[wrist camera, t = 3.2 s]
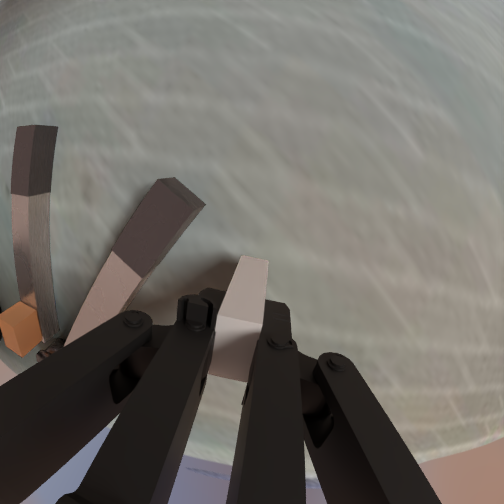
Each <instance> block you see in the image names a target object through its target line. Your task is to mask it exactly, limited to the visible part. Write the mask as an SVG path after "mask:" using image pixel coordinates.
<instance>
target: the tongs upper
mask: <svg viewBox="0 0 504 504" xmlns="http://www.w3.org/2000/svg"><path fill="white" fill-rule="evenodd" d="M205 205H206V204H205V203H204V202H203V201H201V200H200V199H199V198H198V197H197V196H196V195H195V194H193V193H192V192H191V191H190V190H189V189H188V188H186V187H185V186H184V185H183V184H182V183H181V182H179V181H178V180H177V179H176V178H175V177H173V178H163V179H157V181H156V182H155V183H154V185H153V186H152V188H151V189H150V190H149V192H148V193H147V195H146V196H145V198H144V199H143V201H142V202H141V203H140V205H139V206H138V208H137V209H136V211H135V213H134V214H133V216H132V217H131V219H130V220H129V222H128V223H127V225H126V226H125V228H124V230H123V231H122V233H121V235H120V236H119V238H118V239H117V241H116V243H115V244H114V246H113V248H112V249H111V250H112V252H111V254H110V255H109V257H108V259H107V261H106V262H105V264H104V266H103V268H102V269H101V271H100V273H99V275H98V277H97V279H96V280H95V282H94V284H93V286H92V288H91V290H90V292H89V294H88V296H87V298H86V300H85V302H84V304H83V306H82V308H81V310H80V312H79V314H78V316H77V318H76V320H75V322H74V324H73V327H72V329H71V331H70V333H69V335H68V338H67V340H66V342H65V345H64V346H66V345H68V344H69V343H71V342H73V341H74V340H76V339H77V338H79V337H81V336H82V335H84V334H86V333H87V332H89V331H91V330H92V329H94V328H96V327H97V326H99V325H101V324H102V323H104V322H106V321H107V320H109V319H111V318H112V317H114V316H116V315H117V314H119V313H122V312H124V311H125V310H126V309H127V307H128V306H129V304H130V303H131V301H132V300H133V299H134V297H135V296H136V294H137V293H138V291H139V290H140V289H141V287H142V286H143V284H144V283H145V282H146V280H147V279H148V277H149V276H150V275H151V273H152V272H153V271H154V269H155V268H156V267H157V266H158V265H159V264H160V262H161V261H162V260H163V258H164V257H165V256H166V254H167V253H168V252H169V251H170V249H171V248H172V247H173V245H174V244H175V243H176V241H177V240H178V239H179V238H180V236H181V235H182V234H183V232H184V231H185V230H186V229H187V227H188V226H189V225H190V224H191V222H192V221H193V220H194V219H195V217H196V216H197V215H198V214H199V212H200V211H201V210H202V209H203V207H204V206H205Z"/></svg>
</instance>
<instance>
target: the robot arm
mask: <svg viewBox="0 0 504 504" xmlns="http://www.w3.org/2000/svg"><path fill="white" fill-rule="evenodd" d="M268 262H269V261H267V260H263V259H258V258H253V257H249V256H244V255H241V258H240V260H239V262H238V265H237V267H236V270H235V272H234V275H233V277H232V280H231V282H230V285H229V287H228V290H227V292H225V291H220V290H216V289H212V288H206V289H204V290H203V291H201V292H200V294H199V295H186V296H182V297H181V298H180V299H178V308H177V320H176V322H175V324H174V325H170V326H160V325H152V321H153V320H152V319H151V317H150V316H149V315H147V314H146V313H143V312H140V311H135V310H130V311H124V312H122V313H119V314H117V315H116V316H114V317H112V318H111V319H109V320H107V321H106V322H104V323H102V324H101V325H99V326H97V327H96V328H94V329H92V330H91V331H89V332H87V333H86V334H84V335H82V336H81V337H79V338H77V339H76V340H74V341H73V342H71V343H69V344H68V345H66V346H64V347H63V348H61V349H59V350H58V351H56V352H54V353H53V354H51V355H50V356H48V357H46V358H45V359H43V360H41V361H40V362H38V363H37V364H35V365H33V366H32V367H30V368H28V369H27V370H25V371H24V372H22V373H20V374H19V375H17V376H16V377H14V378H12V379H11V380H9V381H8V382H6V383H5V384H3V385H1V386H0V504H20V503H21V502H22V501H23V500H25V499H26V498H27V497H28V496H30V495H31V494H32V493H33V492H34V491H35V490H37V489H38V488H39V487H40V486H41V485H42V484H43V483H44V482H46V481H47V480H48V479H49V478H50V477H51V476H52V475H54V473H56V472H57V471H58V470H59V469H60V468H61V467H62V466H63V465H65V464H66V463H67V462H68V461H69V460H70V459H71V458H72V457H73V456H75V455H76V454H77V453H78V452H79V451H80V450H81V449H82V448H83V447H84V446H85V445H86V444H88V442H90V441H91V440H92V439H93V438H94V437H95V436H96V435H97V434H98V433H99V432H100V431H101V430H103V429H104V428H105V427H106V426H107V425H108V424H109V423H110V422H111V421H112V420H113V419H114V418H115V417H116V416H117V415H118V414H119V413H120V415H119V416H118V418H117V420H116V421H115V423H114V425H113V427H112V428H111V430H110V432H109V434H108V435H107V437H106V439H105V441H104V443H103V444H102V446H101V448H100V450H99V451H98V453H97V455H96V457H95V459H94V460H93V462H92V464H91V466H90V468H89V469H88V471H87V473H86V475H85V477H84V479H83V480H82V482H81V484H80V486H79V487H78V489H77V490H76V491H75V492H73V493H69V494H65V495H63V496H62V497H61V498H59V499H58V501H57V502H56V504H168V501H169V497H170V495H171V491H172V488H173V485H174V482H175V479H176V476H177V472H178V469H179V466H180V463H181V460H182V457H183V454H184V450H185V447H186V444H187V441H188V438H189V435H190V432H191V428H192V425H193V422H194V419H195V416H196V413H197V410H198V407H199V404H200V400H201V397H202V394H203V391H204V388H205V385H206V380H207V373H208V370H209V373H208V374H211V375H215V376H219V377H224V378H228V379H233V380H238V381H242V382H248V383H247V386H246V390H245V393H244V397H243V401H242V404H241V405H243V407H242V413H241V419H240V425H239V431H238V437H237V443H236V449H235V455H234V461H233V467H232V472H231V478H230V484H229V490H228V495H227V501H226V504H306V483H305V455H304V441H305V444H306V446H307V449H308V452H309V455H310V458H311V460H312V463H313V466H314V469H315V471H316V474H317V477H318V480H319V482H320V485H321V488H322V491H323V493H324V496H325V499H326V501H327V504H442V503H441V502H440V500H439V498H438V497H437V495H436V493H435V492H434V490H433V488H432V487H431V485H430V483H429V482H428V480H427V478H426V477H425V475H424V473H423V472H422V470H421V468H420V467H419V465H418V464H417V462H416V460H415V459H414V457H413V455H412V454H411V452H410V451H409V449H408V447H407V446H406V444H405V443H404V441H403V439H402V438H401V436H400V435H399V433H398V432H397V430H396V428H395V427H394V425H393V424H392V422H391V421H390V419H389V417H388V416H387V414H386V413H385V411H384V410H383V408H382V407H381V405H380V403H379V402H378V400H377V399H376V397H375V396H374V394H373V393H372V391H371V390H370V388H369V387H368V385H367V383H366V382H365V380H364V379H363V377H362V376H361V374H360V373H359V371H358V370H357V368H356V367H355V365H354V364H353V363H352V362H351V360H350V359H348V358H347V357H345V356H343V355H341V354H338V353H332V352H328V353H323V354H322V355H320V356H319V358H318V360H317V359H314V358H311V357H308V356H306V355H304V354H302V353H301V352H299V351H298V348H297V344H296V342H295V341H294V340H293V339H292V333H291V322H290V321H291V320H290V309H289V308H288V307H287V305H286V304H285V303H281V302H276V301H271V300H266V299H265V295H266V284H267V273H268Z"/></svg>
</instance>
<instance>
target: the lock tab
mask: <svg viewBox="0 0 504 504" xmlns="http://www.w3.org/2000/svg"><path fill="white" fill-rule="evenodd" d="M0 328H1V331H2V335H3V338H4V341H5V344H6V346H7V347H8V348H10V349H11V350H12V351H14V352H15V353H17V354H18V355H19V356H21V357H22V358H23V357H24V356H25V355H26V354H27V353H28V352H29V351H30V350H32V349H33V348H34V347H35V346H36V345H37V344H38V343H39V342H41V341H42V340H43V339H42V334H41V330H40V326H39V321H38V316H37V311H36V310H35V309H33V308H31V307H29V306H28V305H26V304H24V303H22V302H20V301H19V302H18V303H16V304H14V305H13V306H11V307H10V308H8V309H7V310H5V311H4V312H3V313H1V314H0Z"/></svg>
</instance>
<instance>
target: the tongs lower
mask: <svg viewBox="0 0 504 504" xmlns="http://www.w3.org/2000/svg"><path fill="white" fill-rule="evenodd" d="M57 130H58V127H56V126H44V125H29V126H20V127H17V131H16V138H15V145H14V154H13V164H12V177H11V194H12V233H13V247H14V258H15V267H16V275H17V282H18V288H19V294H20V299H21V302H22V303H24V304H26V305H28V306H29V307H31V308H33V309H35V310H36V311H37V316H38V321H39V326H40V330H41V334H42V339H43V340H42V342H44V343H46V342H47V341H48V340H49V339H50V338H51V337H52V336H54V335H55V334H56V333H57V332H58V331H59V330H60V329H59V324H58V318H57V312H56V306H55V299H54V291H53V283H52V272H51V259H50V237H49V208H50V192H51V178H52V167H53V158H54V150H55V143H56V136H57ZM65 342H66V341H65V340H63V339H57V340H56V341H55V342H53V343H52V344H51V345H50V346H49V347H48V348H47V349H46V350H40V351H39V352H38V353H37V355H36V357H37V361H38V362H40V361H41V360H43V359H45V358H46V357H48V356H50V355H51V354H53V353H54V352H56V351H58V350H59V349H61V348H63V347H64V345H65Z"/></svg>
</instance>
